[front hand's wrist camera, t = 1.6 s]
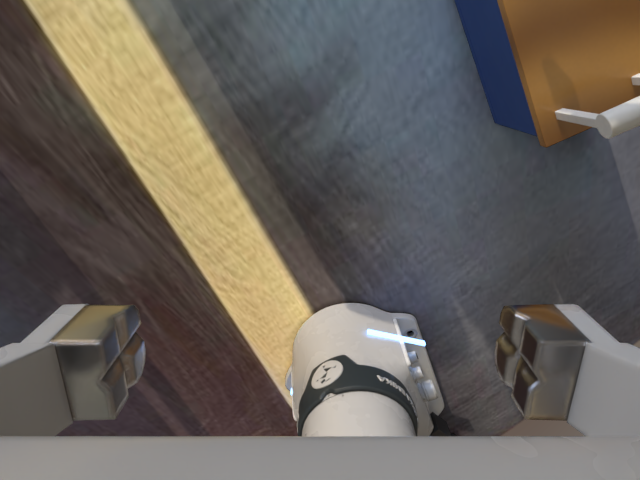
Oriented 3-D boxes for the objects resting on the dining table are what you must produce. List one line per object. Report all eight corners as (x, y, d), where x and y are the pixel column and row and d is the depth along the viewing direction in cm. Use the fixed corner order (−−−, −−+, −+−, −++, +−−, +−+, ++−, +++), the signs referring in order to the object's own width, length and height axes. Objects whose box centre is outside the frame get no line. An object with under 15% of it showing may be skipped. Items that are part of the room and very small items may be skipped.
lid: (653, 95, 37) (749, 103, 29) (540, 145, 38) (600, 167, 30) (610, -121, 32) (711, -187, 23) (480, -53, 33) (533, -93, 25)
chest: (584, 82, 46) (651, 85, 37) (494, 123, 47) (537, 136, 38) (544, -78, 41) (609, -121, 32) (445, -27, 42) (480, -53, 33)
